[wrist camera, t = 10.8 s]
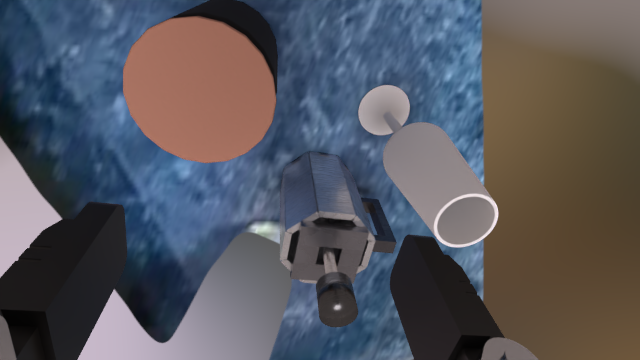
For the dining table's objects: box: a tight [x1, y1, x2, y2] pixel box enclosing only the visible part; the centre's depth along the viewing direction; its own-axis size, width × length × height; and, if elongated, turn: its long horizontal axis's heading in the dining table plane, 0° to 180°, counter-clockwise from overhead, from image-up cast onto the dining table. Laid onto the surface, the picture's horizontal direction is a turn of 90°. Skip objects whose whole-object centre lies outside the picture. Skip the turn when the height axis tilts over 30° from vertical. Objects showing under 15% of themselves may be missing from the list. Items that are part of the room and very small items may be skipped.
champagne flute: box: [358, 85, 498, 247], centre depth 37 cm, size 7×7×24 cm
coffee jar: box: [123, 0, 278, 163], centre depth 34 cm, size 11×11×18 cm
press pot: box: [280, 152, 397, 283], centre depth 46 cm, size 10×13×15 cm
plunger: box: [312, 217, 358, 327], centre depth 40 cm, size 7×7×18 cm
